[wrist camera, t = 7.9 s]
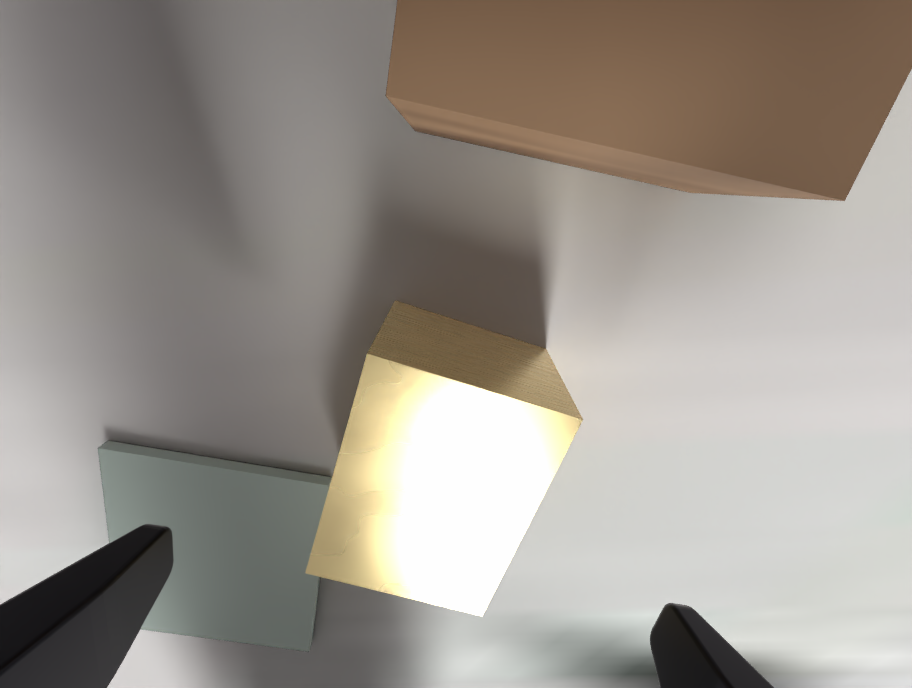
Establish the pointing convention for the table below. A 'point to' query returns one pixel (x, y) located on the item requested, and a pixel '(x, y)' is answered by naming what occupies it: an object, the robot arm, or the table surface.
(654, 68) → the plane block
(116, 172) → the table surface
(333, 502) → the brass block
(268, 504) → the glass plate
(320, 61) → the table surface
